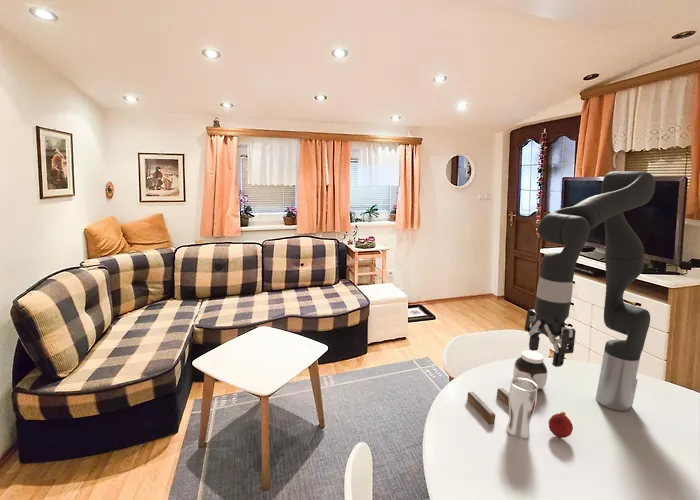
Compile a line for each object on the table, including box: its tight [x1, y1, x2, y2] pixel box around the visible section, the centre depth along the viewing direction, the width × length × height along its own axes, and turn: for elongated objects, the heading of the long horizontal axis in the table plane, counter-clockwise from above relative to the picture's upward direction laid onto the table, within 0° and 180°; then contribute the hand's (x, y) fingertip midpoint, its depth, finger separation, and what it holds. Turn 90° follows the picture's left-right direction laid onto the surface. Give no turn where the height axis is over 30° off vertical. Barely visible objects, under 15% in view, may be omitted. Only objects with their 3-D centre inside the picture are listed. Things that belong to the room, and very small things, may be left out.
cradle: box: [466, 387, 509, 426], centre depth 118 cm, size 13×12×3 cm
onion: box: [548, 411, 574, 439], centre depth 106 cm, size 6×6×8 cm
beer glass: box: [505, 378, 538, 440], centre depth 107 cm, size 7×7×15 cm
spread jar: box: [511, 349, 548, 392], centre depth 130 cm, size 12×11×12 cm
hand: (544, 357), depth 96 cm, fingers open, 8 cm apart
